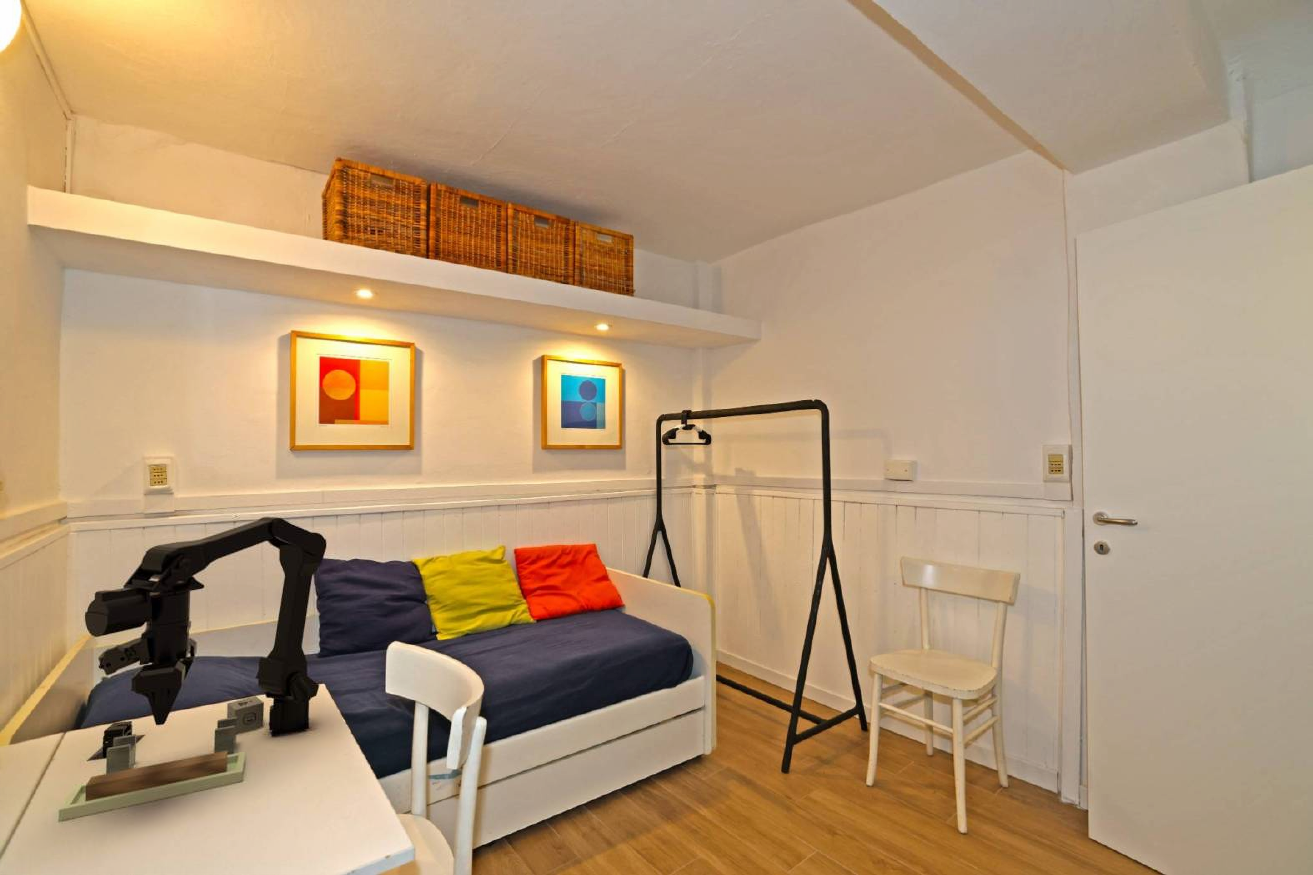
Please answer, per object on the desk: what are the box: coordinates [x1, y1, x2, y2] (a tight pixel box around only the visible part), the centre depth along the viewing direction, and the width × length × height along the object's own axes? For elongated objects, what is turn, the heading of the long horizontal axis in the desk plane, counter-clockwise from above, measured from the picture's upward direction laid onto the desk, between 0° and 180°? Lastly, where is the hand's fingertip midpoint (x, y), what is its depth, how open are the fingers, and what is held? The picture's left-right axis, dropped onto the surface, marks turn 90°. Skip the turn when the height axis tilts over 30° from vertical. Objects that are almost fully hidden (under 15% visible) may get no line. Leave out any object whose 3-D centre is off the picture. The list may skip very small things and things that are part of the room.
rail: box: [85, 750, 228, 801], centre depth 102 cm, size 18×3×3 cm, turn 121°
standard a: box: [213, 717, 237, 755], centre depth 115 cm, size 3×5×5 cm, turn 31°
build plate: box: [86, 720, 146, 762], centre depth 116 cm, size 12×7×5 cm, turn 20°
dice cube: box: [226, 695, 265, 736], centre depth 125 cm, size 5×5×5 cm
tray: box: [58, 751, 247, 822], centre depth 102 cm, size 23×8×2 cm, turn 121°
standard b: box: [105, 733, 137, 774], centre depth 107 cm, size 3×5×5 cm, turn 31°
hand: (165, 713), depth 103 cm, fingers open, 9 cm apart
